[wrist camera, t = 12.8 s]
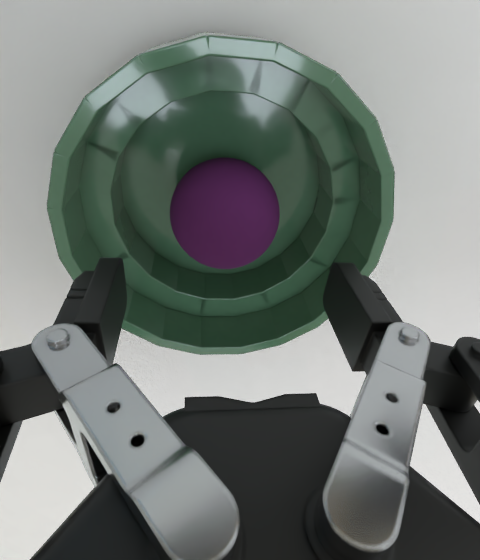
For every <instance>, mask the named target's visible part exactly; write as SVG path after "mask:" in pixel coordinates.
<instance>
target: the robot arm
mask: <svg viewBox="0 0 480 560" xmlns="http://www.w3.org/2000/svg"><path fill="white" fill-rule="evenodd" d="M126 306H127V289H126V281H125V272H124V264H123V259H122V258H108V257H101V258H100V259H99V261H98V264H97V266H96V268H95V271H84V272H83V273H82V274H80V275H79V276H78V277H77V278H75V280H74V282H73V284H72V286H71V288H70V290H69V293H68V295H67V298H66V299H65V301H64V303H63V305H62V307H61V310H60V312H59V314H58V316H57V318H56V320H55V322H54V324H53V326H50V327H47V328H45V329H44V330H42V331H40V332H39V333H38V334H37V335H36V336H35V337H34V339H33V341H32V343H31V344H29V345H26V346H22V347H18V348H13V349H9V350H4V351H0V482H1V479H2V476H3V474H4V471H5V468H6V465H7V462H8V460H9V457H10V454H11V451H12V449H13V446H14V443H15V440H16V438H17V435H18V432H19V429H20V427H21V424H22V421H23V420H25V419H29V418H32V417H35V416H39V415H42V414H45V413H49V412H52V411H54V412H55V414H56V416H57V417H58V419H59V421H60V423H61V424H62V426H63V428H64V430H65V431H66V433H67V435H68V437H69V438H70V440H71V442H72V443H73V445H74V447H75V449H76V450H77V452H78V454H79V456H80V458H81V460H82V463H83V465H84V467H85V470H86V472H87V474H88V476H89V478H90V479H91V481H92V483H93V485H94V487H95V488H94V489H93V490H92V491H91V492H90V493H89V494H88V495H87V497H86V498H85V499H84V500H83V501H82V502H81V503H80V504H79V505H78V507H77V508H76V509H75V510H74V511H73V512H72V513H71V514H70V515H69V517H68V518H67V519H66V520H65V521H64V522H63V523H62V524H61V526H60V527H59V528H58V529H57V530H56V531H55V532H54V533H53V534H52V536H51V537H50V538H49V539H48V540H47V541H46V542H45V543H44V544H43V546H42V547H41V548H40V549H39V550H38V551H37V552H36V553H35V554H34V556H33V557H32V558H31V559H30V560H480V524H479V523H478V522H477V521H476V520H475V519H473V518H472V517H471V516H470V515H469V514H467V513H466V512H465V511H464V510H463V509H461V508H460V507H459V506H458V505H456V504H455V503H454V502H453V501H452V500H450V499H449V498H448V497H447V496H446V495H444V494H443V493H442V492H441V491H440V490H438V489H437V488H436V487H435V486H433V485H432V484H431V483H430V482H429V481H427V480H426V479H425V478H424V477H423V476H421V475H420V474H419V473H418V472H417V471H415V470H414V469H413V468H412V467H411V466H410V461H411V456H412V451H413V447H414V442H415V437H416V433H417V428H418V423H419V418H420V414H421V409H422V404H426V406H427V408H428V410H429V411H430V413H431V415H432V417H433V419H434V421H435V422H436V424H437V426H438V428H439V430H440V432H441V434H442V435H443V437H444V439H445V441H446V443H447V445H448V447H449V448H450V450H451V452H452V454H453V456H454V458H455V460H456V461H457V463H458V465H459V467H460V469H461V471H462V473H463V474H464V476H465V478H466V480H467V482H468V484H469V486H470V487H471V489H472V491H473V493H474V495H475V497H476V498H477V500H478V502H479V504H480V413H479V412H478V410H477V409H476V407H475V406H474V404H475V402H476V401H477V400H478V401H479V402H480V339H477V338H473V337H462V338H459V339H458V340H457V342H456V344H455V345H454V347H452V346H447V345H443V344H438V343H434V342H431V341H430V339H429V337H428V335H427V334H426V333H425V332H424V331H422V330H421V329H420V328H418V327H416V326H414V325H412V324H409V323H404V322H403V321H402V320H401V318H400V317H399V315H398V314H397V313H396V311H395V310H394V308H393V307H392V305H391V304H390V303H389V301H388V300H387V298H386V297H385V295H384V294H383V293H382V291H381V290H380V288H379V287H378V285H377V284H376V283H375V282H374V281H373V280H371V279H370V278H369V277H367V276H366V275H361V273H360V272H359V270H358V269H357V267H356V266H355V264H354V263H342V262H334V263H333V264H332V266H331V268H330V272H329V275H328V279H327V283H326V286H325V290H324V294H323V306H324V309H325V312H326V314H327V316H328V318H329V321H330V323H331V325H332V327H333V329H334V332H335V334H336V336H337V338H338V340H339V343H340V345H341V347H342V349H343V351H344V354H345V356H346V358H347V360H348V363H349V365H350V367H351V369H352V371H365V372H366V375H367V376H366V378H365V380H364V383H363V385H362V387H361V390H360V392H359V395H358V397H357V400H356V402H355V405H354V407H353V410H352V412H351V414H350V417H349V416H348V415H346V414H344V413H343V412H341V411H339V410H337V409H334V408H332V407H329V406H326V405H323V404H320V403H319V400H318V397H317V394H316V393H311V394H284V395H281V396H277V397H274V398H270V399H266V400H263V401H259V402H255V403H251V402H245V401H240V400H235V399H229V398H224V397H219V396H215V397H185V408H182V409H179V410H176V411H174V412H171V413H169V414H167V415H165V416H164V417H162V416H161V415H160V414H159V413H158V411H157V410H156V409H155V408H154V406H153V405H152V404H151V403H150V402H149V400H148V399H147V398H146V397H145V395H144V394H143V393H142V392H141V390H140V389H139V388H138V387H137V386H136V384H135V383H134V382H133V381H132V379H131V378H130V377H129V376H128V375H127V373H126V372H125V371H124V370H123V368H122V367H121V366H120V365H118V364H117V363H115V364H113V360H114V356H115V352H116V348H117V344H118V339H119V335H120V331H121V327H122V323H123V319H124V315H125V311H126ZM112 364H113V365H112Z"/></svg>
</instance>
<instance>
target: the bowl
mask: <svg viewBox="0 0 480 560" xmlns="http://www.w3.org/2000/svg"><path fill="white" fill-rule="evenodd" d="M224 157H228V158H235V159H239V160H242V161H245V162H247V163H249V164H251V165H253V166H254V167H256V168H257V169H258V170H260V171H261V172H262V173H263V174H264V175H265V176H266V177H267V179H268V180H269V181H270V183H271V184H272V186H273V188H274V190H275V192H276V195H277V198H278V202H279V209H280V218H279V225H278V229H277V232H276V235H275V238H274V240H273V241H272V243H271V245H270V246H269V247H268V249H267V250H266V251H265V252H264V253H263V254H262V255H261V256H260V257H259V258H257V259H256V260H254V261H253V262H251V263H249V264H247V265H244V266H242V267H238V268H233V269H217V268H212V267H208V266H206V265H203V264H201V263H199V262H198V261H196V260H194V259H193V258H192V257H190V256H189V255H188V254H187V253H186V252H185V251H184V250H183V249H182V247H181V246H180V245H179V243H178V241H177V240H176V238H175V235H174V233H173V230H172V226H171V222H170V204H171V199H172V196H173V193H174V190H175V188H176V186H177V184H178V183H179V181H180V180H181V179H182V177H183V176H184V175H185V174H186V173H187V172H188V171H189V170H190V169H192V168H193V167H194V166H196V165H198V164H199V163H202V162H204V161H206V160H210V159H214V158H224ZM47 211H48V215H49V219H50V223H51V227H52V231H53V236H54V240H55V244H56V248H57V252H58V256H59V259H60V260H61V262H62V263H63V265H64V267H65V268H66V270H67V271H68V273H69V274H70V276H71V277H72V279H73V281H74V280H75V278H77V277H78V276H79V275H80V274H82V273H83V272H84V271H95V268H96V266H97V264H98V261H99V259H100V258H101V257H108V258H122V259H123V264H124V272H125V281H126V289H127V306H126V311H125V315H124V319H123V323H122V327H121V328H122V329H124V330H126V331H128V332H130V333H132V334H135V335H137V336H139V337H141V338H143V339H145V340H147V341H149V342H151V343H153V344H155V345H158V346H161V347H166V348H171V349H175V350H180V351H185V352H189V353H194V354H200V355H208V354H244V353H248V352H253V351H257V350H261V349H265V348H270V347H274V346H278V345H282V344H284V343H286V342H288V341H290V340H292V339H294V338H296V337H298V336H300V335H302V334H305V333H307V332H309V331H311V330H313V329H315V328H317V327H318V326H320V325H321V324H322V323H324V322H325V321H326V320H327V319H328V316H327V314H326V312H325V309H324V306H323V294H324V290H325V286H326V283H327V279H328V275H329V272H330V268H331V266H332V264H333V263H334V262H342V263H354V264H355V266H356V267H357V269H358V270H359V272H360V273H361V275H366V276H367V277H369V275H370V274H371V273H372V271H373V270H374V268H375V267H376V266H377V263H378V261H379V259H380V256H381V253H382V250H383V248H384V245H385V242H386V239H387V236H388V234H389V231H390V228H391V225H392V222H393V214H394V167H393V164H392V161H391V158H390V155H389V153H388V150H387V147H386V144H385V141H384V138H383V135H382V132H381V129H380V126H379V123H378V120H377V119H376V117H375V116H374V114H373V113H372V112H371V111H370V110H369V109H368V107H367V106H366V105H365V104H364V103H363V102H362V100H361V99H360V98H359V97H358V96H357V95H356V93H355V92H354V91H353V90H352V89H351V88H350V86H349V85H348V84H347V83H346V82H345V81H344V79H343V78H342V77H341V76H340V75H339V74H338V73H337V72H336V71H334V70H332V69H330V68H328V67H326V66H324V65H322V64H321V63H319V62H317V61H315V60H313V59H311V58H309V57H307V56H305V55H303V54H301V53H299V52H297V51H296V50H294V49H292V48H290V47H288V46H286V45H284V44H282V43H280V42H276V41H272V40H268V39H263V38H259V37H251V36H241V35H231V34H221V33H210V32H205V33H204V32H203V33H200V34H196V35H193V36H189V37H186V38H182V39H179V40H176V41H172V42H169V43H165V44H162V45H158V46H155V47H153V48H151V49H149V50H147V51H145V52H143V53H141V54H139V55H137V56H135V57H134V58H133V59H132V60H130V61H129V62H128V63H127V64H125V65H124V66H123V67H121V68H120V69H119V70H118V71H116V72H115V73H114V74H113V75H111V76H110V77H109V78H107V79H106V80H105V81H104V82H102V83H101V84H100V85H99V86H97V87H96V88H95V89H94V90H92V91H91V92H90V93H88V94H87V95H86V96H85V98H83V100H82V102H81V103H80V105H79V107H78V109H77V111H76V112H75V114H74V116H73V118H72V119H71V121H70V123H69V125H68V127H67V128H66V130H65V132H64V134H63V135H62V137H61V139H60V141H59V142H58V144H57V146H56V148H55V152H54V153H53V160H52V168H51V176H50V184H49V191H48V199H47Z"/></svg>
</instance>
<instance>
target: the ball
mask: <svg viewBox="0 0 480 560" xmlns="http://www.w3.org/2000/svg"><path fill="white" fill-rule="evenodd" d="M279 218H280V209H279V202H278V198H277V195H276V192H275V190H274V188H273V186H272V184H271V183H270V181H269V180H268V179H267V177H266V176H265V175H264V174H263V173H262V172H261V171H260V170H258V169H257V168H256V167H254V166H253V165H251V164H249V163H247V162H245V161H242V160H239V159H235V158H228V157H224V158H214V159H210V160H206V161H204V162H202V163H199V164H198V165H196V166H194V167H193V168H192V169H190V170H189V171H188V172H187V173H186V174H185V175H184V176H183V177H182V179H181V180H180V181H179V183H178V184H177V186H176V188H175V190H174V193H173V196H172V199H171V204H170V222H171V226H172V230H173V233H174V235H175V238H176V240H177V241H178V243H179V245H180V246H181V247H182V249H183V250H184V251H185V252H186V253H187V254H188V255H189V256H190V257H192V258H193V259H194V260H196V261H198V262H199V263H201V264H203V265H206V266H208V267H212V268H217V269H233V268H238V267H242V266H244V265H247V264H249V263H251V262H253V261H254V260H256V259H257V258H259V257H260V256H261V255H262V254H263V253H264V252H265V251H266V250H267V249H268V247H269V246H270V245H271V243H272V241H273V240H274V238H275V235H276V232H277V229H278V225H279Z"/></svg>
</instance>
